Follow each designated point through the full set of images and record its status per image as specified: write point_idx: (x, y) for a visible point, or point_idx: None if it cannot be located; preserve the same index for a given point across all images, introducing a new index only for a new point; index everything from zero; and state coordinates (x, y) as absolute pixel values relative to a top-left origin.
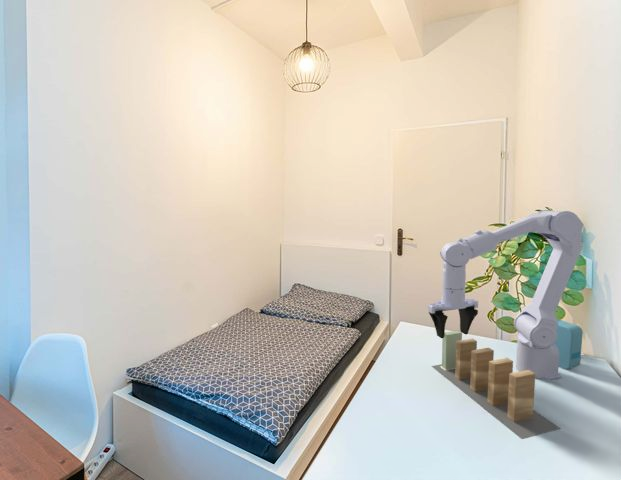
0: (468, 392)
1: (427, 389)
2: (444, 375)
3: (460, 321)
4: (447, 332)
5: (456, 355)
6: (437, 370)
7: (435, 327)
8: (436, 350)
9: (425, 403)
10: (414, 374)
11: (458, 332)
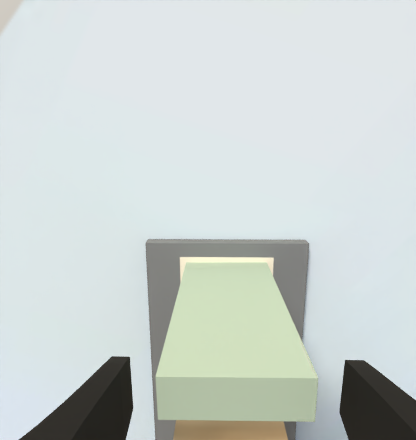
0: (168, 424)
1: (57, 351)
2: (154, 320)
3: (404, 426)
4: (200, 382)
5: (176, 423)
6: (150, 281)
7: (66, 405)
8: (283, 86)
9: (14, 406)
10: (57, 256)
11: (288, 412)
